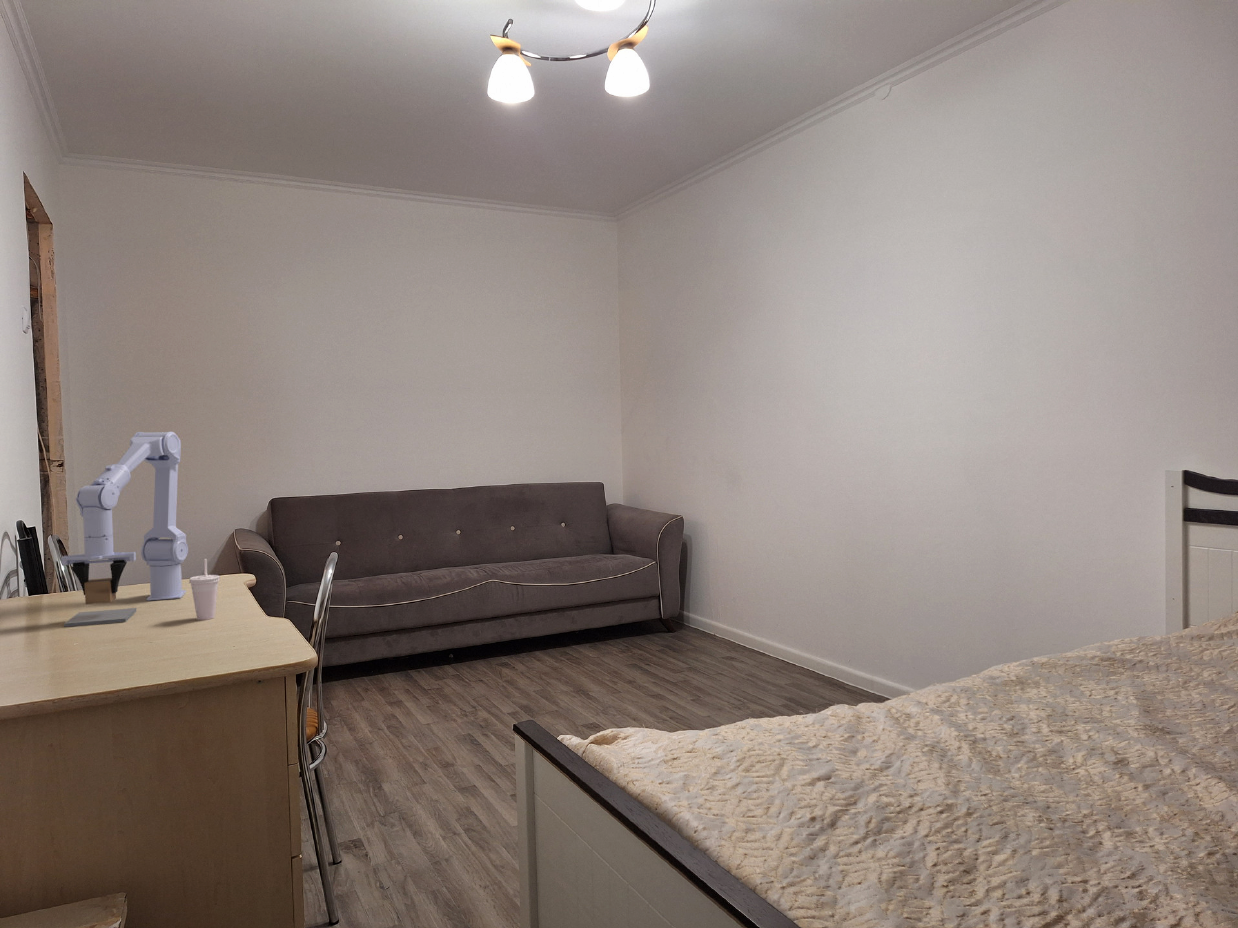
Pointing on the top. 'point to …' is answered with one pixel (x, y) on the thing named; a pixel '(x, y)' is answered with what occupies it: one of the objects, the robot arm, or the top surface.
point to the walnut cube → (99, 591)
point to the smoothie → (205, 594)
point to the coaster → (100, 617)
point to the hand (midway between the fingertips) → (100, 593)
